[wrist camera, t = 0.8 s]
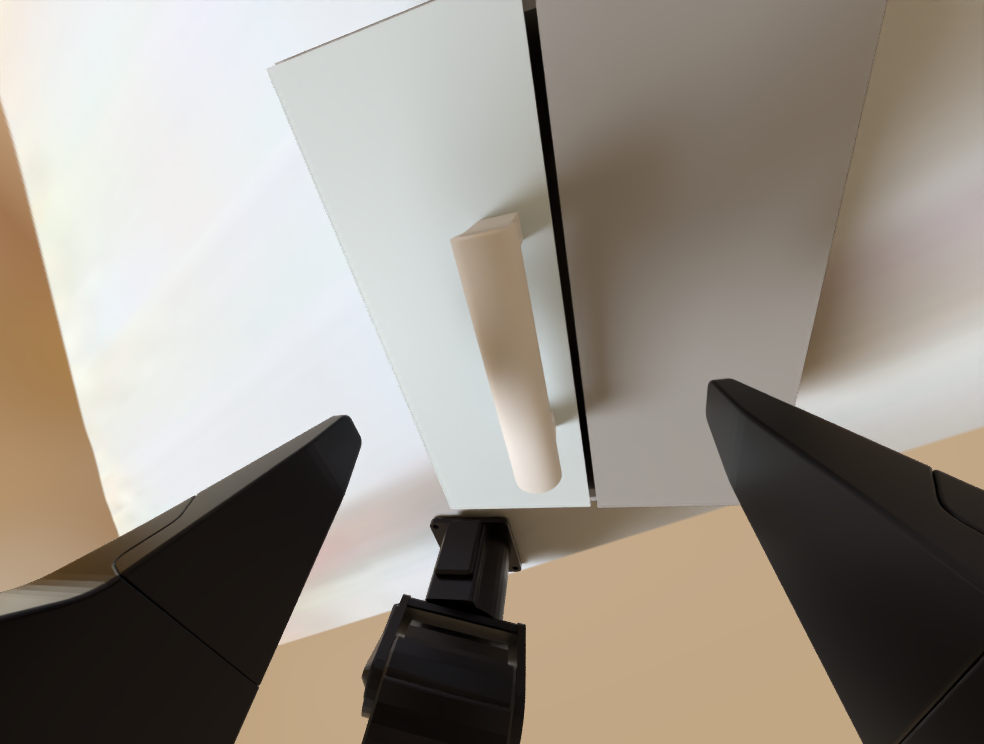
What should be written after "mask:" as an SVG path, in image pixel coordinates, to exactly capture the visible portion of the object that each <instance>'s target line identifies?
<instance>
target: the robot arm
mask: <svg viewBox="0 0 984 744" xmlns="http://www.w3.org/2000/svg"><path fill="white" fill-rule="evenodd" d="M706 419H707V422H708V425H709V428H710V431H711V434H712V436H713V439H714V442H715V445H716V447H717V450H718V453H719V456H720V458H721V461H722V464H723V467H724V469H725V472H726V475H727V477H728V480H729V482H730V484H731V487H732V489H733V491H734V493H735V495H736V497H737V499H738V501H739V503H740V505H741V507H742V508H743V510H744V512H745V514H746V516H747V518H748V520H749V522H750V524H751V526H752V528H753V530H754V532H755V534H756V536H757V538H758V540H759V542H760V544H761V546H762V547H763V549H764V551H765V553H766V555H767V557H768V559H769V561H770V563H771V565H772V567H773V569H774V571H775V573H776V575H777V577H778V579H779V581H780V583H781V585H782V586H783V588H784V590H785V592H786V594H787V596H788V598H789V600H790V602H791V604H792V606H793V608H794V610H795V612H796V614H797V616H798V618H799V620H800V622H801V623H802V625H803V628H804V629H805V631H806V633H807V635H808V637H809V639H810V641H811V643H812V645H813V647H814V649H815V651H816V653H817V655H818V657H819V659H820V660H821V663H822V664H823V666H824V668H825V670H826V672H827V674H828V676H829V678H830V680H831V682H832V684H833V686H834V688H835V690H836V692H837V694H838V695H839V698H840V700H841V702H842V704H843V705H844V707H845V709H846V711H847V713H848V715H849V717H850V719H851V721H852V723H853V725H854V727H855V729H856V731H857V733H858V735H859V737H860V738H861V741H862V743H863V744H984V490H982V489H980V488H978V487H975V486H973V485H970V484H968V483H966V482H964V481H962V480H959V479H957V478H955V477H953V476H950V475H948V474H946V473H944V472H941V471H939V470H934V471H932V468H931V467H930V466H928V465H925V464H923V463H921V462H919V461H916V460H914V459H912V458H910V457H908V456H905V455H903V454H901V453H899V452H896V451H894V450H892V449H890V448H887V447H885V446H883V445H881V444H878V443H876V442H874V441H872V440H869V439H867V438H865V437H863V436H860V435H858V434H856V433H854V432H851V431H849V430H847V429H845V428H842V427H840V426H838V425H836V424H833V423H831V422H829V421H827V420H824V419H822V418H820V417H818V416H815V415H813V414H811V413H809V412H806V411H804V410H802V409H800V408H797V407H795V406H793V405H791V404H788V403H786V402H784V401H782V400H779V399H777V398H775V397H773V396H770V395H768V394H766V393H764V392H761V391H759V390H757V389H755V388H752V387H750V386H748V385H746V384H743V383H741V382H739V381H737V380H734V379H732V378H725V379H715V380H711V381H710V382H709V384H708V388H707V400H706ZM361 443H362V442H361V437H360V435H359V433H358V431H357V429H356V427H355V425H354V423H353V421H352V419H351V418H350V417H349V416H347V415H339V416H333V417H331V418H329V419H327V420H325V421H324V422H322V423H320V424H318V425H317V426H315V427H313V428H311V429H310V430H308V431H306V432H304V433H303V434H301V435H299V436H297V437H296V438H294V439H292V440H290V441H289V442H287V443H285V444H283V445H282V446H280V447H278V448H277V449H275V450H273V451H271V452H270V453H268V454H266V455H264V456H263V457H261V458H259V459H257V460H256V461H254V462H252V463H250V464H249V465H247V466H245V467H243V468H242V469H240V470H238V471H236V472H235V473H233V474H231V475H229V476H228V477H226V478H224V479H222V480H221V481H219V482H217V483H215V484H214V485H212V486H210V487H208V488H207V489H205V490H203V491H201V492H200V493H198V494H197V496H193V497H191V498H189V499H187V500H186V501H184V502H182V503H180V504H179V505H177V506H175V507H173V508H172V509H170V510H168V511H166V512H164V513H163V514H161V515H159V516H157V517H155V518H154V519H152V520H150V521H148V522H146V523H145V524H143V525H141V526H139V527H137V528H135V529H133V530H132V531H130V532H128V533H126V534H124V535H122V536H120V537H119V538H117V539H115V540H113V541H111V542H109V543H107V544H106V545H103V546H102V547H100V548H98V549H96V550H94V551H92V552H90V553H88V554H87V555H85V556H83V557H81V558H79V559H77V560H75V561H73V562H71V563H69V564H68V565H66V566H64V567H62V568H60V569H58V570H56V571H54V572H52V573H51V574H48V575H46V576H45V577H43V578H40V579H38V580H36V581H33V582H31V583H28V584H26V585H23V586H20V587H17V588H14V589H11V590H8V591H4V592H0V744H234V743H235V741H236V738H237V736H238V734H239V732H240V729H241V727H242V725H243V723H244V720H245V718H246V716H247V713H248V711H249V709H250V707H251V705H252V702H253V700H254V698H255V696H256V693H257V691H258V689H259V686H258V685H260V684H261V681H262V679H263V677H264V674H265V672H266V670H267V668H268V666H269V663H270V661H271V659H272V657H273V654H274V652H275V650H276V648H277V646H278V643H279V641H280V639H281V637H282V634H283V632H284V630H285V628H286V625H287V623H288V621H289V619H290V616H291V614H292V612H293V610H294V607H295V605H296V603H297V601H298V598H299V596H300V594H301V592H302V589H303V587H304V585H305V583H306V581H307V578H308V576H309V574H310V572H311V569H312V567H313V565H314V563H315V560H316V558H317V556H318V554H319V551H320V549H321V547H322V545H323V542H324V540H325V538H326V536H327V533H328V531H329V529H330V527H331V524H332V522H333V520H334V518H335V515H336V513H337V511H338V509H339V507H340V504H341V502H342V500H343V497H344V495H345V492H346V489H347V487H348V484H349V481H350V478H351V475H352V472H353V469H354V466H355V463H356V460H357V457H358V454H359V451H360V448H361ZM430 528H431V530H432V532H433V534H434V536H435V538H436V540H437V542H438V544H439V546H440V551H439V555H438V558H437V561H436V565H435V568H434V572H433V575H432V578H431V582H430V585H429V588H428V592H427V595H426V599H425V601H423V600H419V599H415V598H411V596H410V595H406V594H403V596H402V599H401V601H400V603H399V604H395V605H394V606H393V608H392V611H391V614H390V617H389V619H388V622H387V625H386V627H385V630H384V632H383V634H382V636H381V638H380V640H379V642H378V643H377V645H376V647H375V649H374V651H373V653H372V655H371V656H370V658H369V660H368V662H367V664H366V666H365V668H364V671H363V674H362V680H363V683H364V686H365V692H364V702H363V706H362V717H365V718H369V720H368V724H367V728H366V731H365V734H364V737H363V741H362V744H520V740H521V734H522V727H523V719H524V709H525V677H526V672H525V671H526V666H525V665H526V664H525V663H526V625H525V624H521V623H517V624H515V623H511V622H507V621H503V613H504V604H505V596H506V587H507V579H508V571H509V572H518V571H521V566H522V564H521V560H520V557H519V554H518V551H517V547H516V544H515V541H514V538H513V535H512V531H511V528H510V525H509V522H508V520H506V519H504V518H447V519H433V520H432V521H431V524H430Z"/></svg>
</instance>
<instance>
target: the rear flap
mask: <svg viewBox="0 0 984 744" xmlns="http://www.w3.org/2000/svg"><path fill="white" fill-rule="evenodd" d="M266 70H267V72H268V74H269V77H270V79H271V82H272V84H273V86H274V89H275V91H276V93H277V96H278V98H279V101H280V103H281V105H282V108H283V110H284V113H285V115H286V117H287V120H288V122H289V124H290V127H291V129H292V132H293V134H294V136H295V139H296V141H297V144H298V146H299V148H300V151H301V153H302V155H303V158H304V160H305V163H306V165H307V167H308V170H309V172H310V174H311V177H312V179H313V182H314V184H315V186H316V189H317V191H318V194H319V196H320V198H321V201H322V203H323V205H324V208H325V210H326V213H327V215H328V217H329V220H330V222H331V225H332V227H333V229H334V232H335V234H336V236H337V239H338V241H339V244H340V246H341V248H342V251H343V253H344V255H345V258H346V260H347V263H348V265H349V267H350V270H351V272H352V275H353V277H354V279H355V282H356V284H357V286H358V289H359V291H360V294H361V296H362V298H363V301H364V303H365V306H366V308H367V310H368V313H369V315H370V317H371V320H372V322H373V325H374V327H375V329H376V332H377V334H378V336H379V339H380V341H381V344H382V346H383V348H384V351H385V353H386V356H387V358H388V360H389V363H390V365H391V367H392V370H393V372H394V375H395V377H396V379H397V382H398V384H399V387H400V389H401V391H402V394H403V396H404V398H405V401H406V403H407V406H408V408H409V410H410V413H411V415H412V417H413V420H414V422H415V425H416V427H417V429H418V432H419V434H420V437H421V439H422V441H423V444H424V446H425V448H426V451H427V453H428V456H429V458H430V460H431V463H432V465H433V468H434V470H435V472H436V475H437V477H438V479H439V482H440V484H441V487H442V489H443V491H444V494H445V496H446V498H447V501H448V503H449V506H450V508H451V509H502V508H554V507H591V505H590V496H589V489H588V481H587V474H586V466H585V459H584V452H583V444H582V437H581V430H580V422H579V415H578V408H577V400H576V393H575V385H574V378H573V371H572V363H571V356H570V349H569V341H568V334H567V326H566V319H565V312H564V304H563V297H562V290H561V282H560V275H559V267H558V260H557V253H556V245H555V238H554V231H553V223H552V216H551V209H550V201H549V194H548V186H547V179H546V172H545V164H544V157H543V150H542V142H541V135H540V127H539V120H538V113H537V105H536V98H535V91H534V83H533V76H532V68H531V61H530V54H529V46H528V39H527V32H526V24H525V17H524V10H523V2H522V0H435V1H433V2H430V3H428V4H426V5H423V6H421V7H418V8H416V9H413V10H411V11H408V12H406V13H403V14H401V15H398V16H396V17H393V18H391V19H389V20H386V21H384V22H381V23H379V24H376V25H374V26H371V27H369V28H366V29H364V30H361V31H359V32H356V33H354V34H351V35H349V36H347V37H344V38H342V39H339V40H337V41H334V42H332V43H329V44H327V45H324V46H322V47H319V48H317V49H314V50H312V51H309V52H307V53H305V54H302V55H300V56H297V57H295V58H292V59H290V60H287V61H285V62H282V63H280V64H277V65H275V66H272V67H270V68H267V69H266Z"/></svg>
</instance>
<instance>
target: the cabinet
mask: <svg viewBox="0 0 984 744" xmlns="http://www.w3.org/2000/svg"><path fill="white" fill-rule="evenodd" d="M433 1H435V0H430V1H428V2H425V3H423V4H420V5H418V6H415V7H413V8H410V9H408V10H405V11H403V12H401V13H398V14H396V15H393V16H391V17H388V18H386V19H383V20H381V21H378V22H376V23H374V24H371V25H369V26H366V27H364V28H361V29H359V30H356V31H354V32H351V33H349V34H346V35H344V36H342V37H339V38H337V39H334V40H332V41H329V42H327V43H324V44H322V45H319V46H317V47H314V48H312V49H310V50H307V51H305V52H302V53H300V54H297V55H295V56H292V57H290V58H287V59H285V60H282V61H280V62H278V63H275V65H277V64H280V63H282V62H285V61H287V60H290V59H292V58H295V57H297V56H300V55H302V54H305V53H307V52H309V51H312V50H314V49H317V48H319V47H322V46H324V45H327V44H329V43H332V42H334V41H337V40H339V39H342V38H344V37H347V36H349V35H351V34H354V33H356V32H359V31H361V30H364V29H366V28H369V27H371V26H374V25H376V24H379V23H381V22H384V21H386V20H389V19H391V18H393V17H396V16H398V15H401V14H403V13H406V12H408V11H411V10H413V9H416V8H418V7H421V6H423V5H426V4H428V3H430V2H433ZM522 2H523V10H524V17H525V24H526V32H527V39H528V46H529V54H530V61H531V68H532V76H533V83H534V91H535V98H536V105H537V113H538V120H539V127H540V135H541V142H542V150H543V157H544V164H545V172H546V179H547V186H548V194H549V201H550V209H551V216H552V223H553V231H554V238H555V245H556V253H557V260H558V267H559V275H560V282H561V290H562V297H563V304H564V312H565V319H566V326H567V334H568V341H569V349H570V356H571V363H572V371H573V378H574V385H575V393H576V400H577V408H578V415H579V422H580V430H581V437H582V444H583V452H584V459H585V466H586V474H587V481H588V489H589V496H590V501H597V507H598V508H613V507H667V506H722V505H740V503H739V501H738V499H737V497H736V495H735V493H734V491H733V489H732V487H731V484H730V482H729V480H728V477H727V475H726V472H725V469H724V467H723V464H722V461H721V458H720V456H719V453H718V450H717V447H716V445H715V442H714V439H713V436H712V434H711V431H710V428H709V425H708V422H707V419H706V400H707V388H708V384H709V382H710V381H711V380H715V379H725V378H732V379H734V380H737V381H739V382H741V383H743V384H746V385H748V386H750V387H752V388H755V389H757V390H759V391H761V392H764V393H766V394H768V395H770V396H773V397H775V398H777V399H779V400H782V401H784V402H786V403H788V404H791V405H793V406H795V402H796V398H797V394H798V389H799V385H800V381H801V376H802V372H803V367H804V363H805V359H806V354H807V350H808V345H809V341H810V337H811V332H812V328H813V324H814V319H815V315H816V310H817V306H818V302H819V297H820V293H821V289H822V284H823V280H824V275H825V271H826V267H827V262H828V258H829V254H830V249H831V245H832V240H833V236H834V232H835V227H836V223H837V219H838V214H839V210H840V205H841V201H842V197H843V192H844V188H845V183H846V179H847V175H848V170H849V166H850V162H851V157H852V153H853V148H854V144H855V140H856V135H857V131H858V127H859V122H860V118H861V113H862V109H863V105H864V100H865V96H866V92H867V87H868V83H869V78H870V74H871V70H872V65H873V61H874V57H875V52H876V48H877V43H878V39H879V35H880V30H881V26H882V22H883V17H884V13H885V8H886V4H887V0H522Z"/></svg>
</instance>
